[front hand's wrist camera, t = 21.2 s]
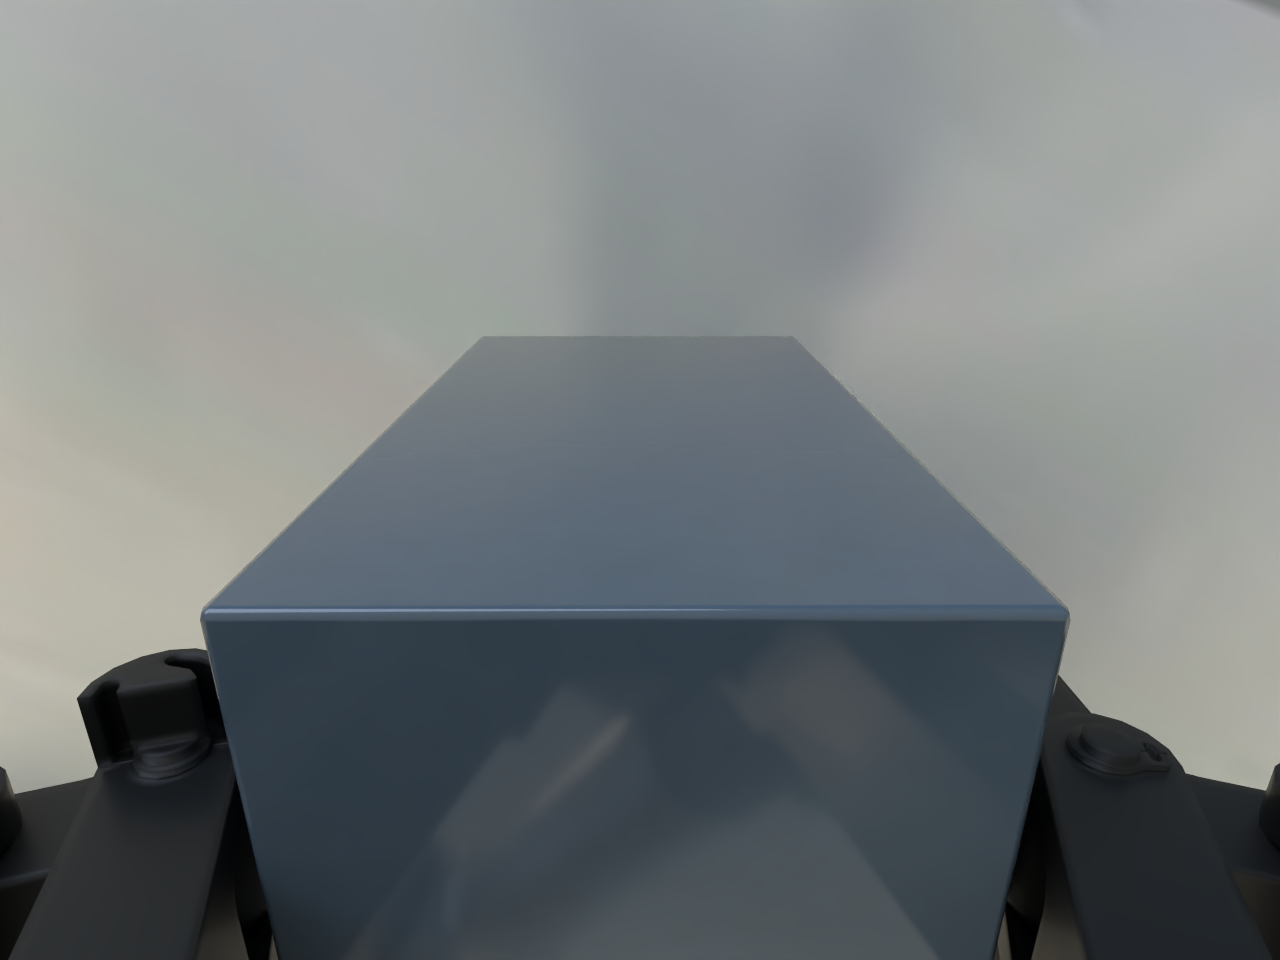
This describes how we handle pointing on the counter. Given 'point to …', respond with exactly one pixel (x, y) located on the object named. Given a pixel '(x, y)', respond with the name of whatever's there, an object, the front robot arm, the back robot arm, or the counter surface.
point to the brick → (635, 674)
